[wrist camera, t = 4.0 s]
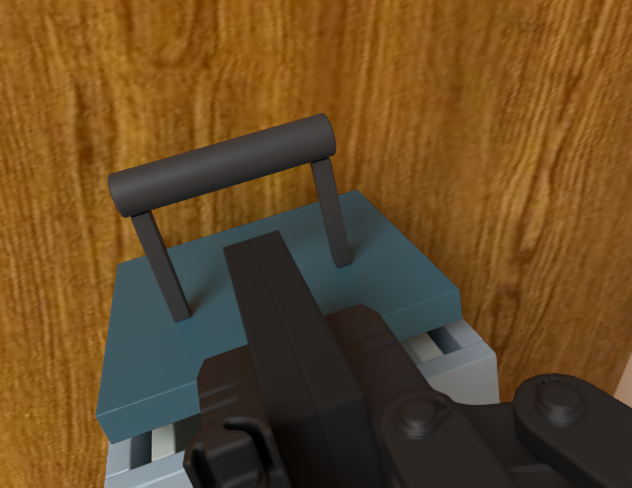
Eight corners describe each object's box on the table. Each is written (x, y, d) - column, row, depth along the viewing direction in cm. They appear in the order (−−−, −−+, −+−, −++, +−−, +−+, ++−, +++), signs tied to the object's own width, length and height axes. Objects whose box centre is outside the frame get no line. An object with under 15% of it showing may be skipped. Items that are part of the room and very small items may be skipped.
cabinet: (123, 298, 25) (101, 500, 15) (369, 219, 27) (497, 353, 17) (215, 495, 32) (241, 726, 22) (407, 422, 34) (514, 604, 24)
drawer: (63, 146, 21) (0, 249, 13) (334, 71, 23) (442, 117, 14) (209, 466, 30) (230, 656, 21) (397, 396, 31) (486, 547, 23)
